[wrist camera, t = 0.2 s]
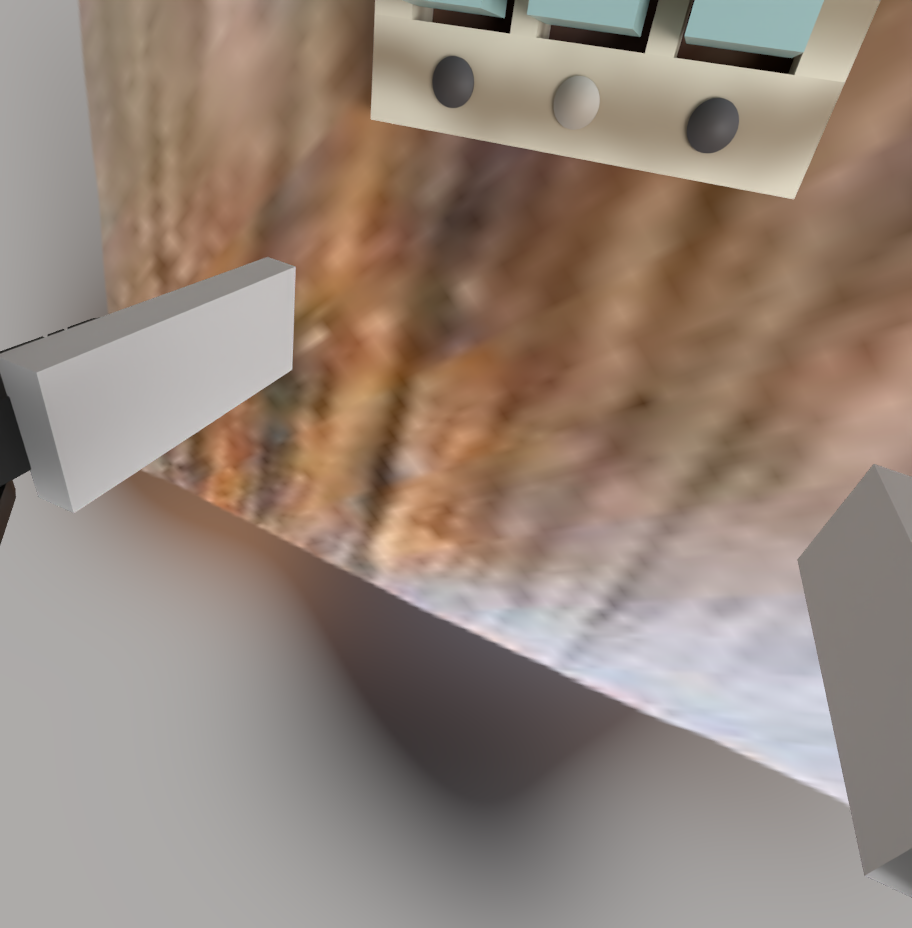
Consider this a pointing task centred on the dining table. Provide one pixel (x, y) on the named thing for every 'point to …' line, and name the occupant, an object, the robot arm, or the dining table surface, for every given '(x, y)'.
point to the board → (617, 94)
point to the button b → (592, 14)
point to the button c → (753, 25)
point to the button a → (466, 6)
